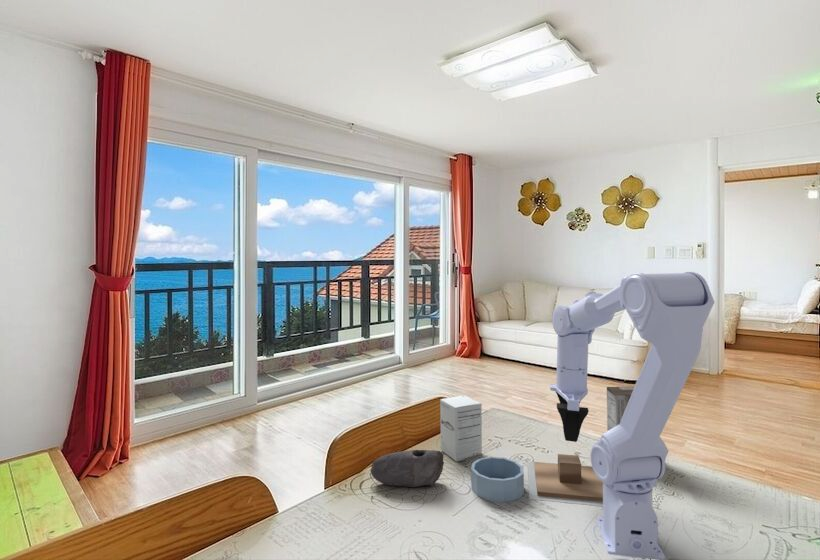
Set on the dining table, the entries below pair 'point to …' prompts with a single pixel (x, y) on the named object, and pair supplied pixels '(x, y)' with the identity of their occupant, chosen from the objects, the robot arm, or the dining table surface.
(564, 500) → the mat
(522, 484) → the bowl
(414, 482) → the perforated stone tool
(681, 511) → the dining table surface
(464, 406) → the supplement box
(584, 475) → the lid
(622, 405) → the coffee box
